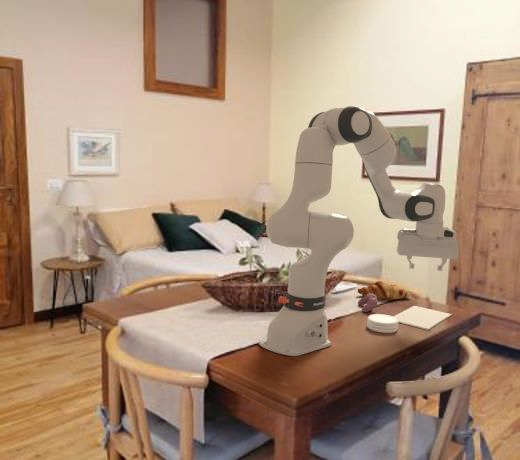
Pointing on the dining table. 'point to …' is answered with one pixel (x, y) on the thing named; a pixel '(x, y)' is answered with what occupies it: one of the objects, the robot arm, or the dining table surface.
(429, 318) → the cream rectangular panel
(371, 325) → the coaster
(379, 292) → the croissant
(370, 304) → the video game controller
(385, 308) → the dining table surface
